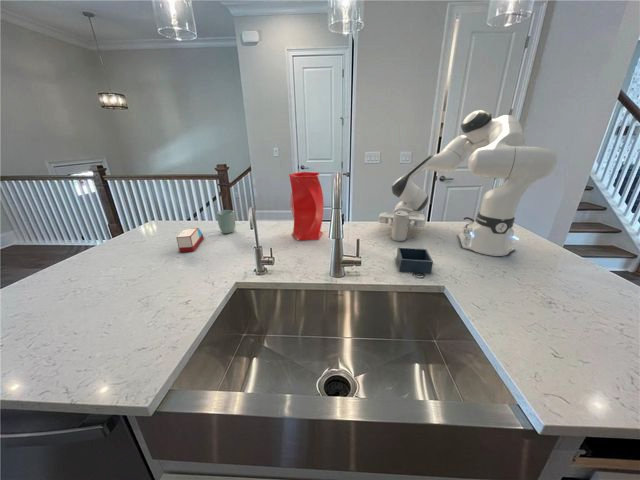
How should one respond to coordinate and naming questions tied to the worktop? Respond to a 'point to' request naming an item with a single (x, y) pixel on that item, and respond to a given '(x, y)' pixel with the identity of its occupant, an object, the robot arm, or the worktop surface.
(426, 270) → the tote
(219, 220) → the cup
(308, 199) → the vase
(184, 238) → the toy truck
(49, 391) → the worktop surface
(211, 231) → the worktop surface
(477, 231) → the robot arm
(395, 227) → the beverage can
